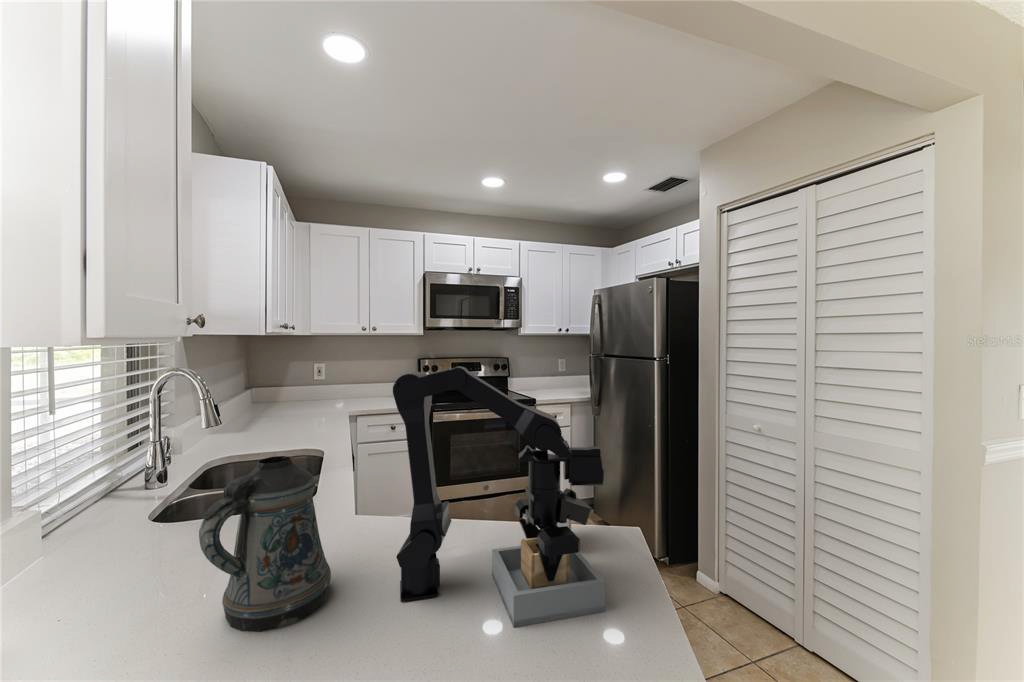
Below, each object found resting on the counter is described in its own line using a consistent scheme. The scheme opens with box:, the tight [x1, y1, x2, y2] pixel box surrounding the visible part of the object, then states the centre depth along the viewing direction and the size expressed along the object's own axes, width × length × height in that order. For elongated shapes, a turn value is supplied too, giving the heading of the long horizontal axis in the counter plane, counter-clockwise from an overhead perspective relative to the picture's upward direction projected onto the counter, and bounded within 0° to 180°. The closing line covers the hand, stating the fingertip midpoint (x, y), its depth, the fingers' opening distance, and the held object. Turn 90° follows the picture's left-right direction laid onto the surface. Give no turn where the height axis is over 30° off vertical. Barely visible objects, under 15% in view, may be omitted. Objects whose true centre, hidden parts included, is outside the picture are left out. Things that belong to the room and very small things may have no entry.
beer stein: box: [198, 455, 332, 633], centre depth 74 cm, size 16×19×25 cm
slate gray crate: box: [491, 545, 606, 628], centre depth 78 cm, size 16×16×5 cm
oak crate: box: [520, 537, 569, 589], centre depth 78 cm, size 7×6×6 cm
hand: (544, 570), depth 78 cm, fingers closed on oak crate, 6 cm apart
